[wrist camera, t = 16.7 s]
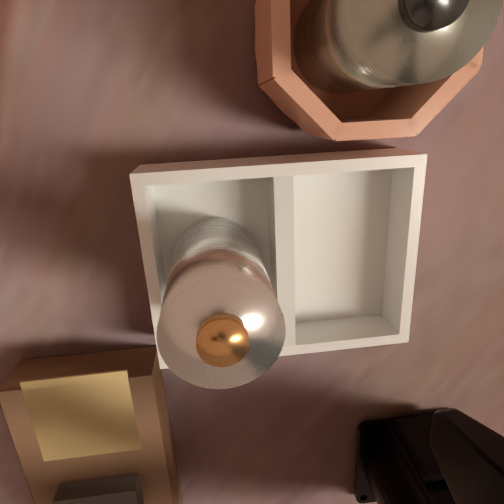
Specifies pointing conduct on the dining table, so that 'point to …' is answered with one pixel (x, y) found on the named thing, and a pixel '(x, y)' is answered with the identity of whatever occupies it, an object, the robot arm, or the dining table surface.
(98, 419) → the cradle
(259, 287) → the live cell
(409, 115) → the cup
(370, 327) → the trough tray
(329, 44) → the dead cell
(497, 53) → the dining table surface
